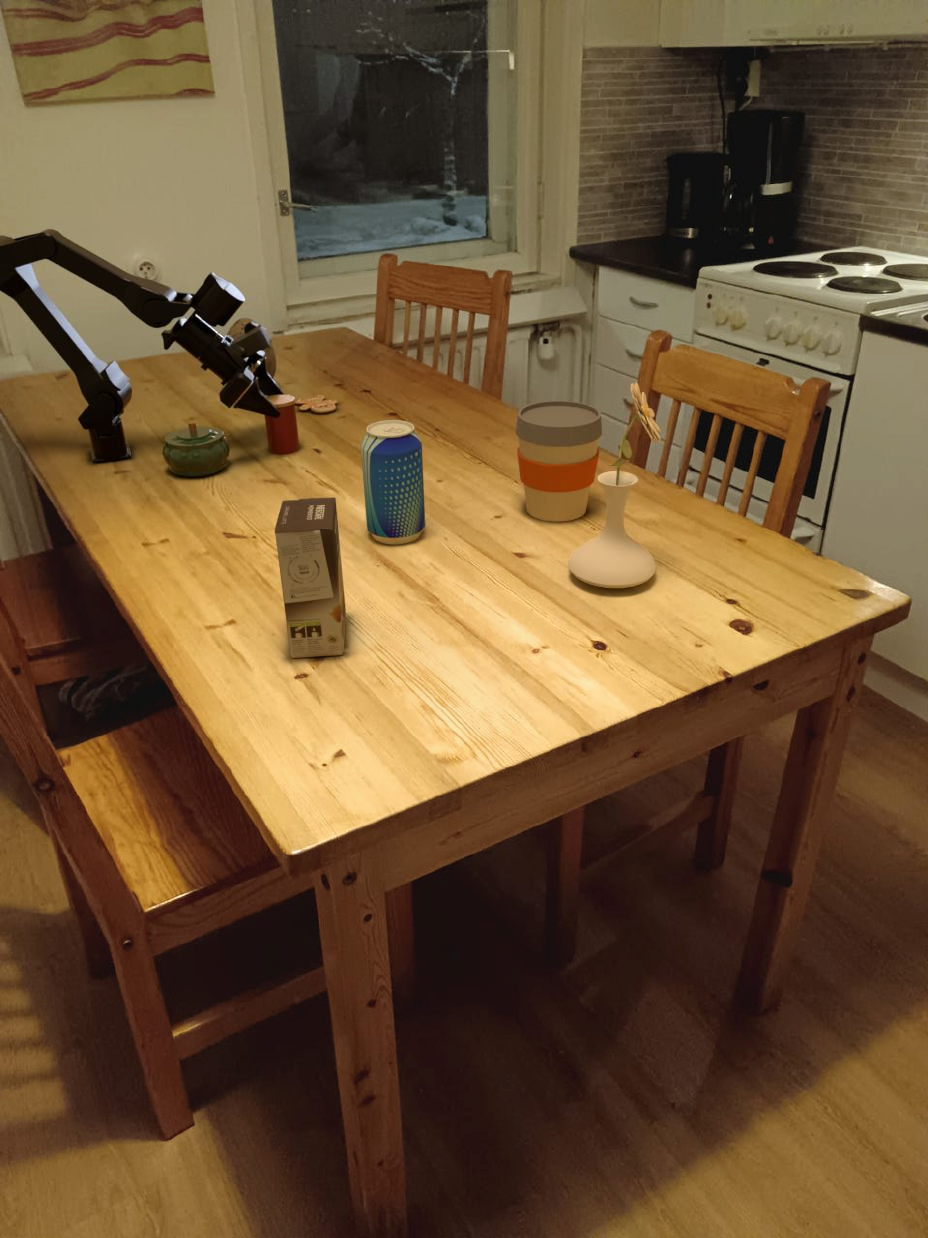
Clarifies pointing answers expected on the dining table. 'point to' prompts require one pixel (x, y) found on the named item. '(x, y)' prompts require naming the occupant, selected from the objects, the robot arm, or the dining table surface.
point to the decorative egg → (269, 352)
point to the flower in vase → (617, 522)
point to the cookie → (317, 404)
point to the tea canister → (282, 426)
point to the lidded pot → (196, 451)
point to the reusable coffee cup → (558, 457)
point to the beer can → (393, 481)
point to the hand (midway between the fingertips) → (282, 407)
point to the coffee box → (311, 576)
